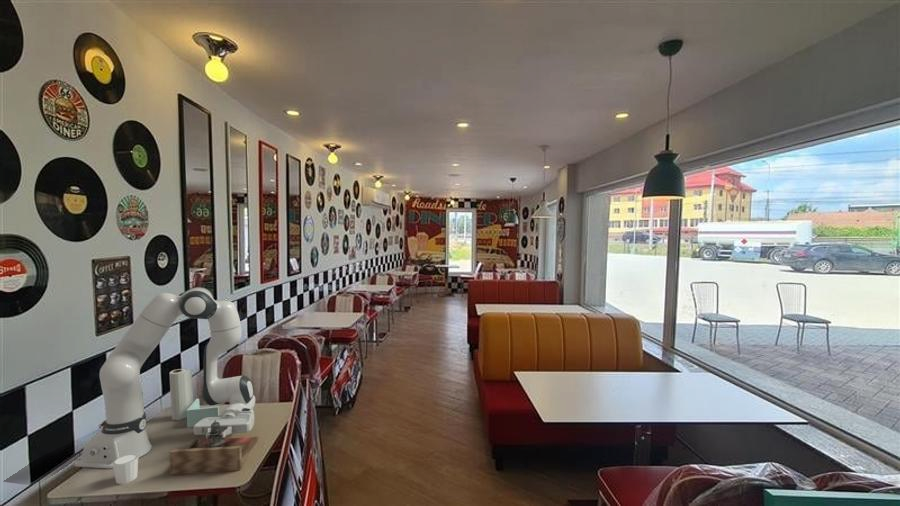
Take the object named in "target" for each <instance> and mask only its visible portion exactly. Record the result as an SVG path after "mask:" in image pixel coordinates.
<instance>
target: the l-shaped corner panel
mask: <svg viewBox="0 0 900 506" xmlns="http://www.w3.org/2000/svg"><path fill="white" fill-rule="evenodd" d="M219 412H220V408H219V405H217V406H209V407H201V406H200V398H196V399H195V400H193V403H192V405H191V406H190V407H189V408H188V409H187V418H186V424H187V427H189V428H194V425H195V424H196V423H198V422H199V421H201V420H202V419H204V418H207V417H219Z"/></svg>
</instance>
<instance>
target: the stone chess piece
mask: <svg viewBox="0 0 900 506" xmlns="http://www.w3.org/2000/svg"><path fill="white" fill-rule="evenodd" d="M220 433H221V430H220V423H219V422H216V420H215V421H214V423H212V424H211V433H210V434H211V438H210V439H211V441H209V442H208V443H207V446H208V448H212V447H223V446H224V444H225V437H224V438H220V436H219V434H220Z"/></svg>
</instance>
